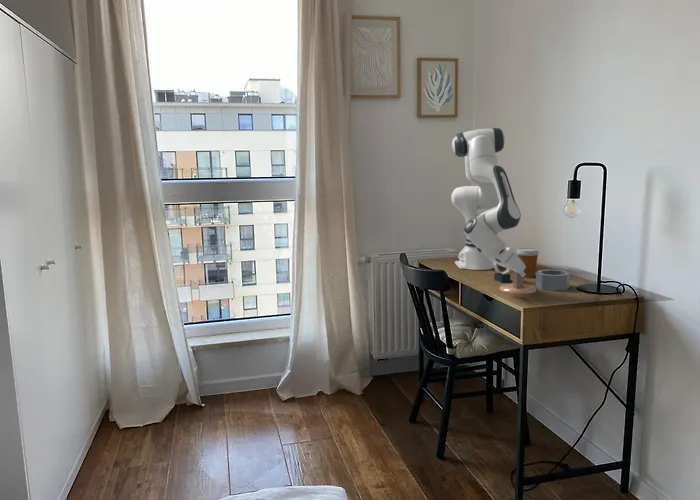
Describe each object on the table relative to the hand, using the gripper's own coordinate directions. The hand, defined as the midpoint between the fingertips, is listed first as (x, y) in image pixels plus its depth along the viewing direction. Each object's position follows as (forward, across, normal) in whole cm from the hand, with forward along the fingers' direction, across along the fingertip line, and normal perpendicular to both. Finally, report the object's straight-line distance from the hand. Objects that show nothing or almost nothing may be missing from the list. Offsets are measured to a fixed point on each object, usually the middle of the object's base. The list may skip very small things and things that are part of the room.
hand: (519, 274), depth 225 cm
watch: (+5, -17, -4) cm, 18 cm away
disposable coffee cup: (+15, -22, +6) cm, 27 cm away
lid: (+4, 0, -5) cm, 7 cm away
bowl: (+15, 0, +6) cm, 16 cm away
